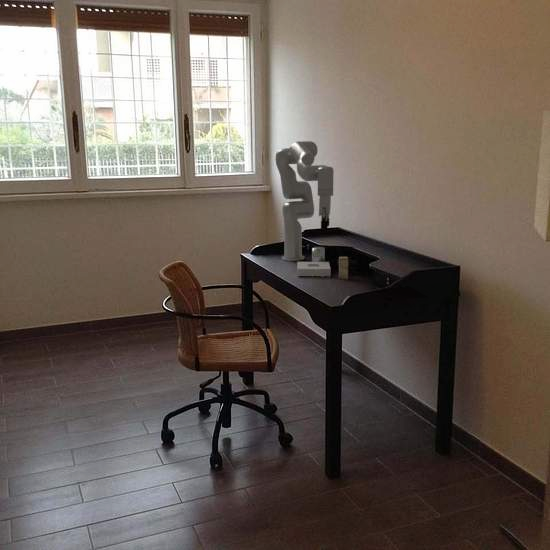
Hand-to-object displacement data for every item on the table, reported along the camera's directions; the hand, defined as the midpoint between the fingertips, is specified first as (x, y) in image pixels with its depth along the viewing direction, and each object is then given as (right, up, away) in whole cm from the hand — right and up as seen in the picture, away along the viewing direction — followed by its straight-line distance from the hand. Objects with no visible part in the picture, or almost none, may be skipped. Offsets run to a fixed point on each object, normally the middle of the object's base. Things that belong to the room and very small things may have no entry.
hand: (325, 227), depth 310 cm
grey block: (-2, -19, +19) cm, 27 cm away
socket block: (-5, -22, +6) cm, 24 cm away
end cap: (+11, -22, +8) cm, 26 cm away
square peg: (+8, -25, -4) cm, 26 cm away
